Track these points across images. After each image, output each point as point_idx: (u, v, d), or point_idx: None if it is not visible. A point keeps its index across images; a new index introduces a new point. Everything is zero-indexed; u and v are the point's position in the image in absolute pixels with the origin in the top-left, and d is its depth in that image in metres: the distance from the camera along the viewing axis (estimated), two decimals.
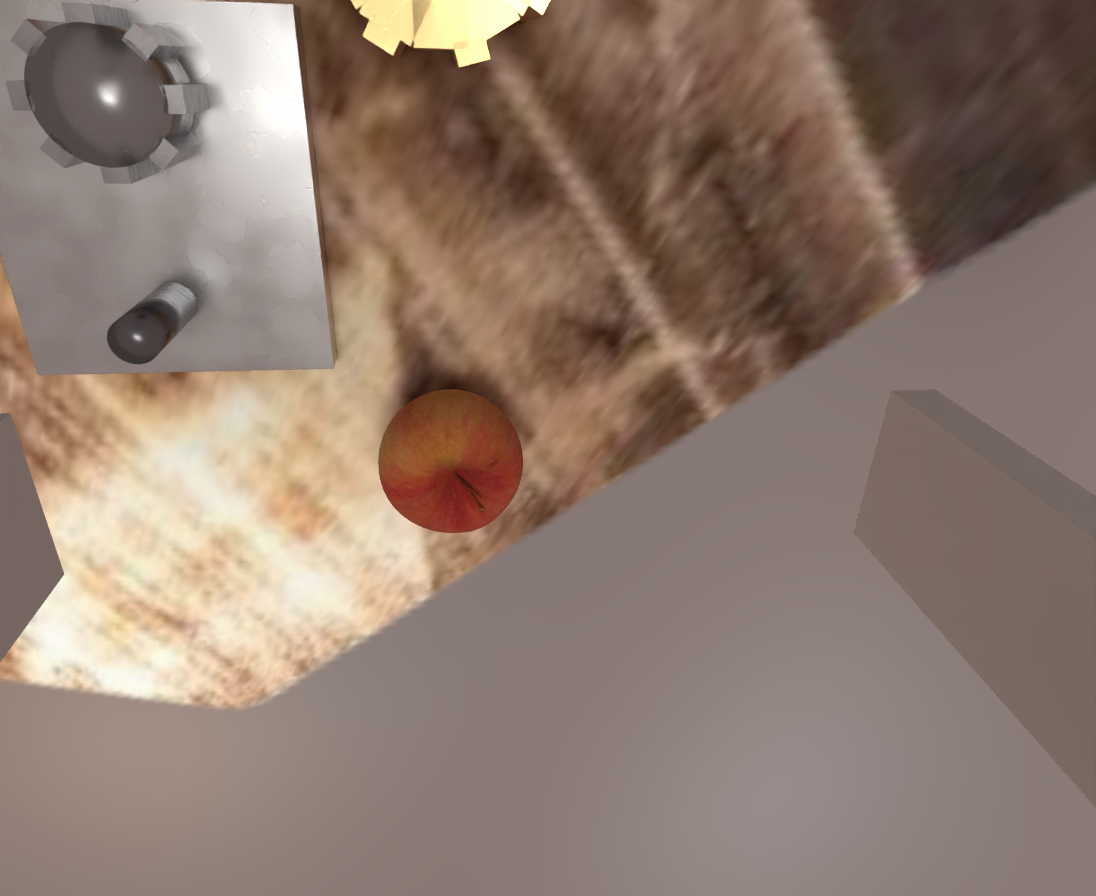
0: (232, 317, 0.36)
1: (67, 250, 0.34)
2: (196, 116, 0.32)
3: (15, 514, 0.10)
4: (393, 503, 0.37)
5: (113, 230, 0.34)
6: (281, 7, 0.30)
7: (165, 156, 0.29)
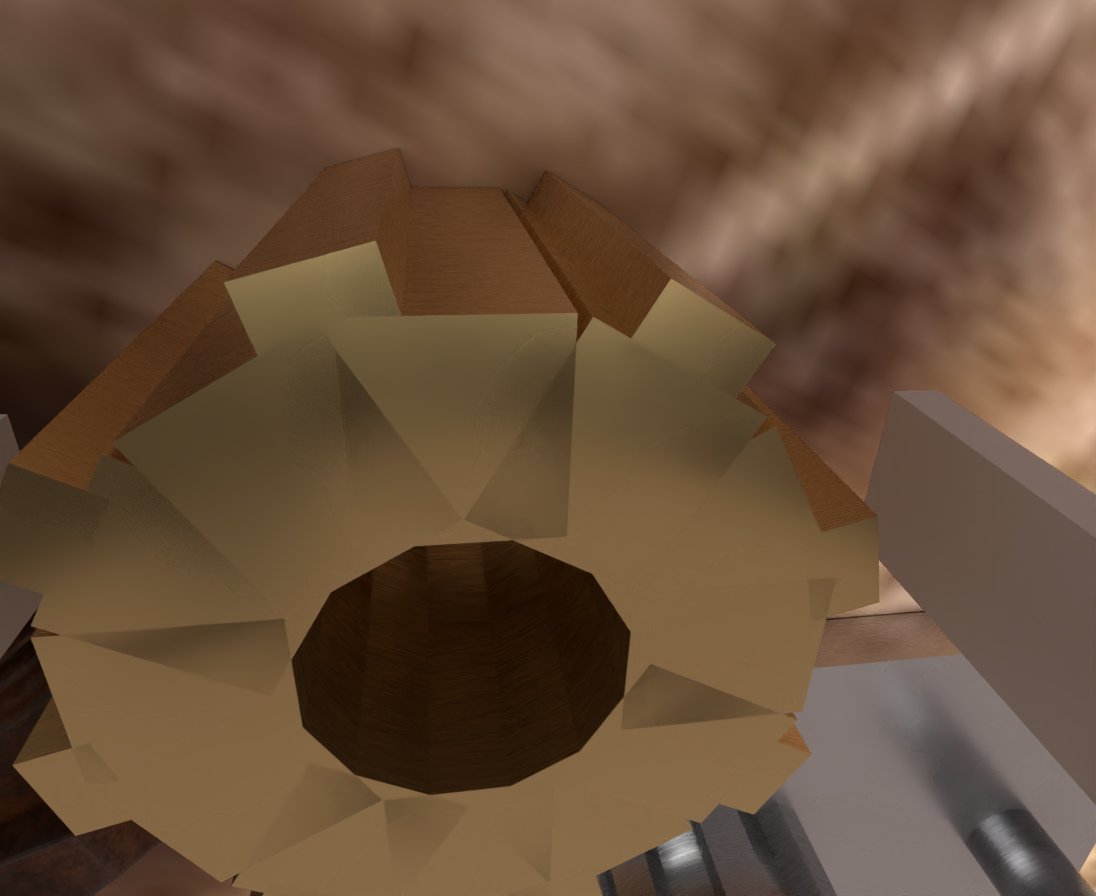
0: (1054, 768, 0.20)
1: None
2: None
3: None
4: None
5: (873, 891, 0.21)
6: None
7: None
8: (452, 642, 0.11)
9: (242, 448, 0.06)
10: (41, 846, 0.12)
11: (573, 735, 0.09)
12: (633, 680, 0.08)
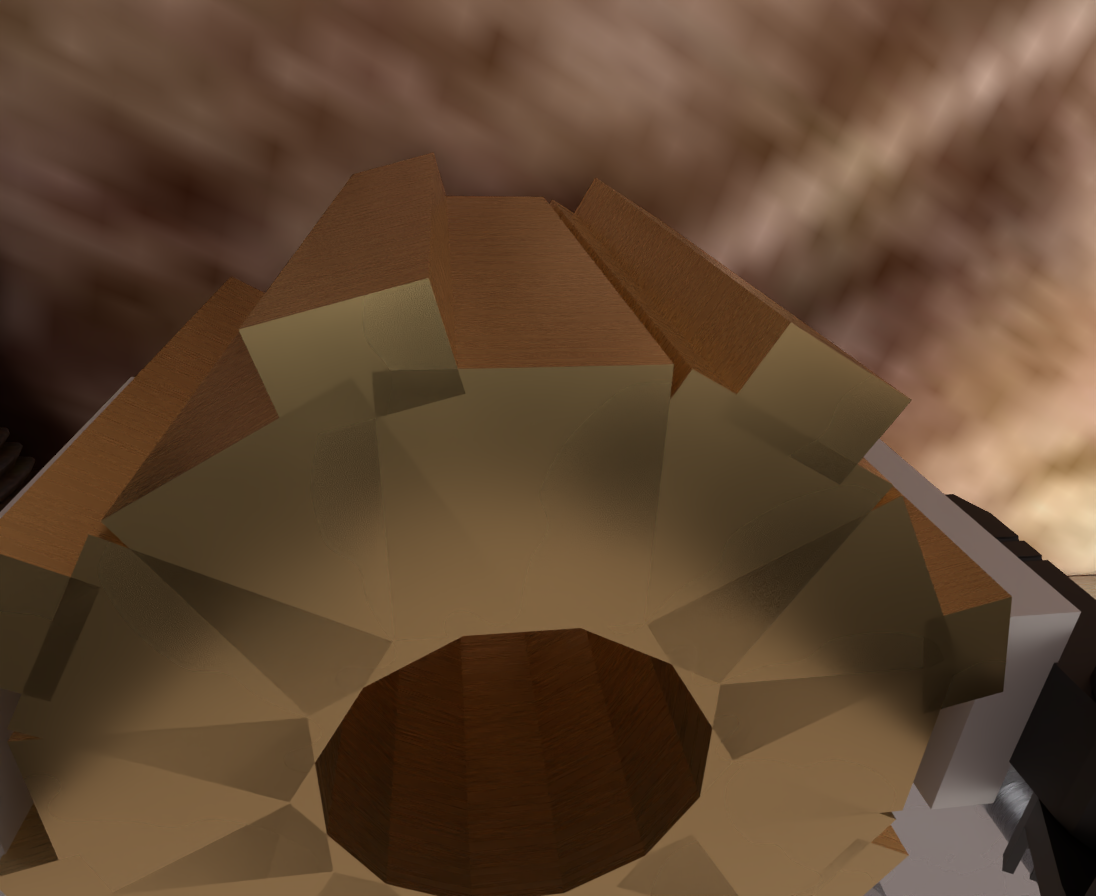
0: None
1: (905, 893, 0.23)
2: None
3: None
4: None
5: None
6: None
7: None
8: (490, 707, 0.10)
9: (259, 526, 0.05)
10: None
11: (636, 834, 0.08)
12: (710, 779, 0.07)
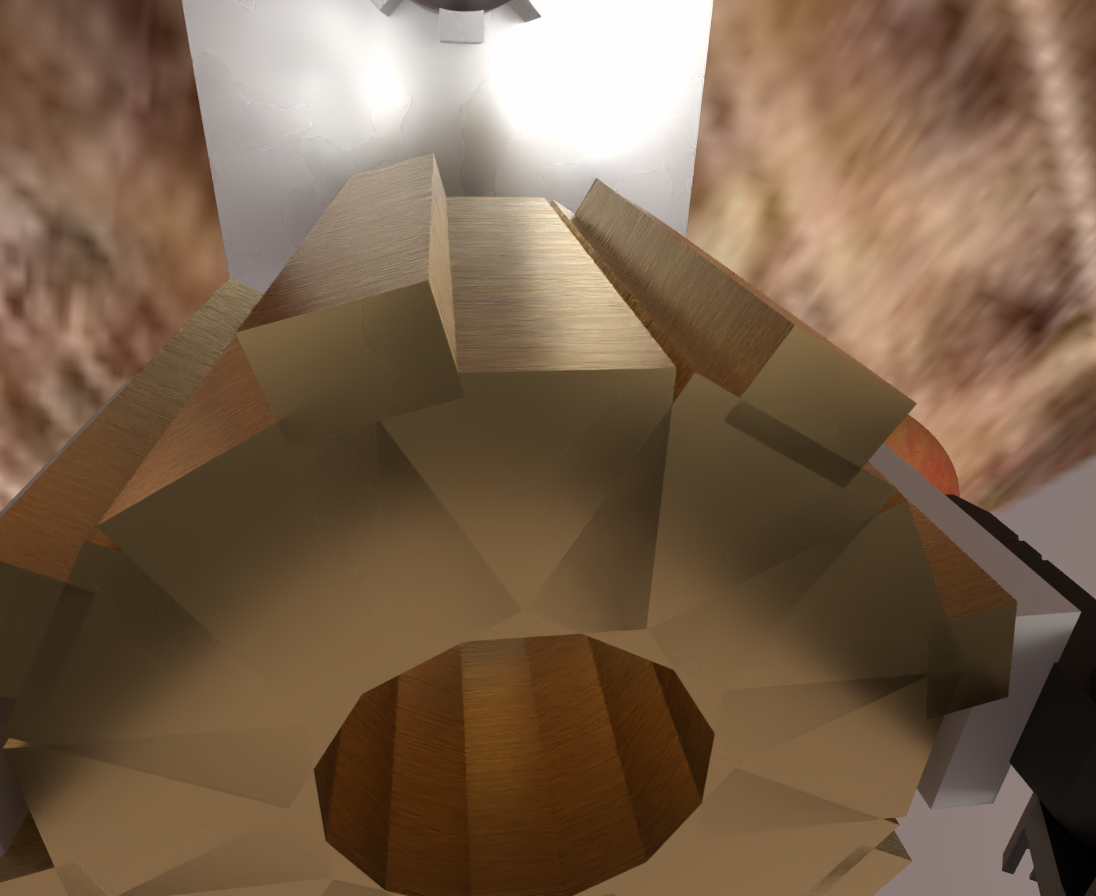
0: None
1: (316, 174, 0.21)
2: None
3: None
4: None
5: (390, 141, 0.21)
6: None
7: None
8: (490, 711, 0.10)
9: (257, 531, 0.05)
10: None
11: (637, 840, 0.08)
12: (712, 785, 0.07)
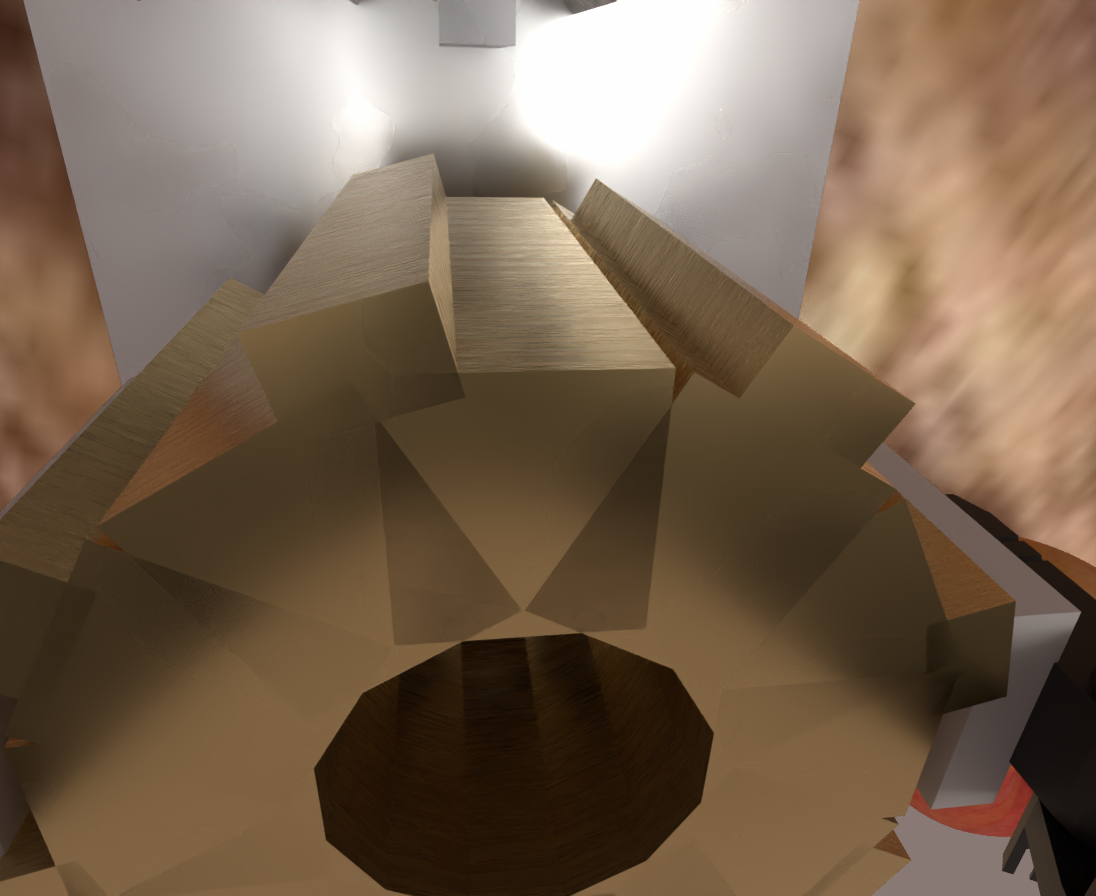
0: None
1: (250, 246, 0.14)
2: None
3: None
4: (914, 792, 0.17)
5: None
6: None
7: None
8: (490, 710, 0.10)
9: (258, 531, 0.05)
10: None
11: (637, 839, 0.08)
12: (711, 783, 0.07)
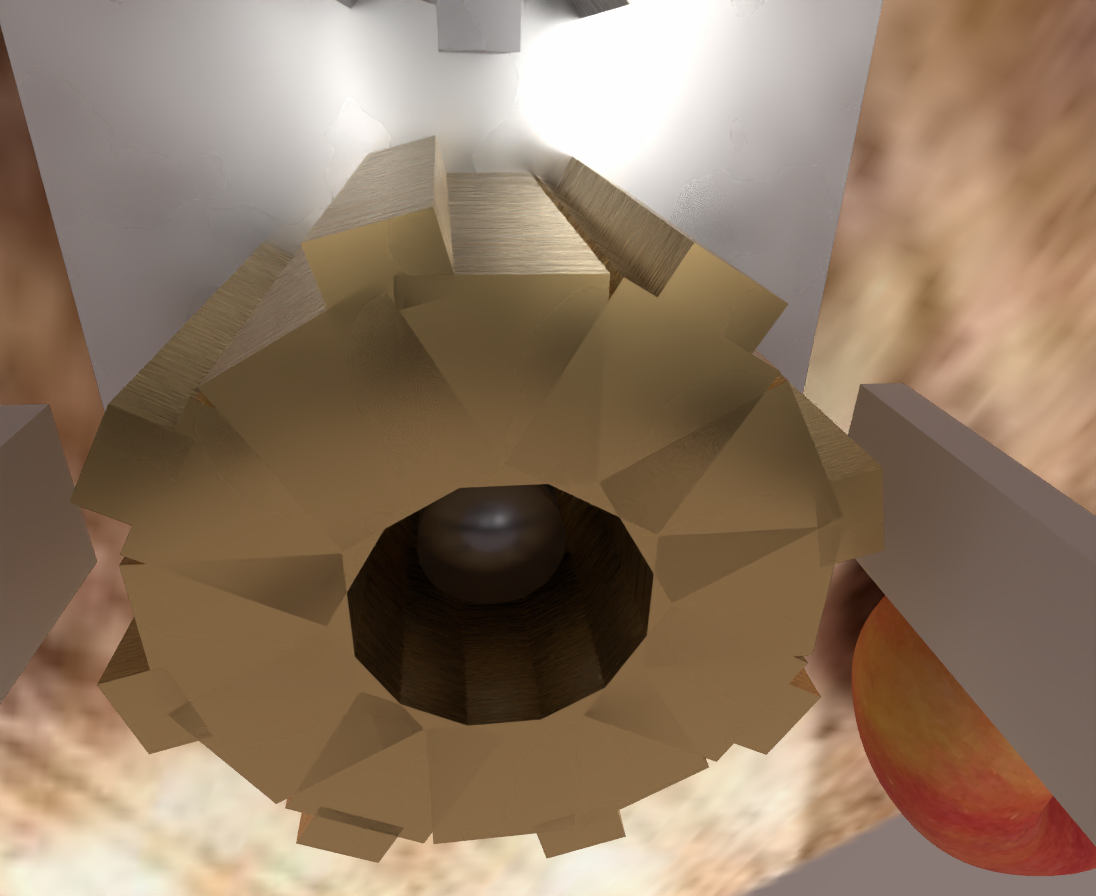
0: None
1: (237, 263, 0.13)
2: None
3: (53, 502, 0.10)
4: (936, 830, 0.16)
5: None
6: None
7: None
8: None
9: (310, 394, 0.07)
10: None
11: (599, 674, 0.10)
12: (654, 620, 0.09)
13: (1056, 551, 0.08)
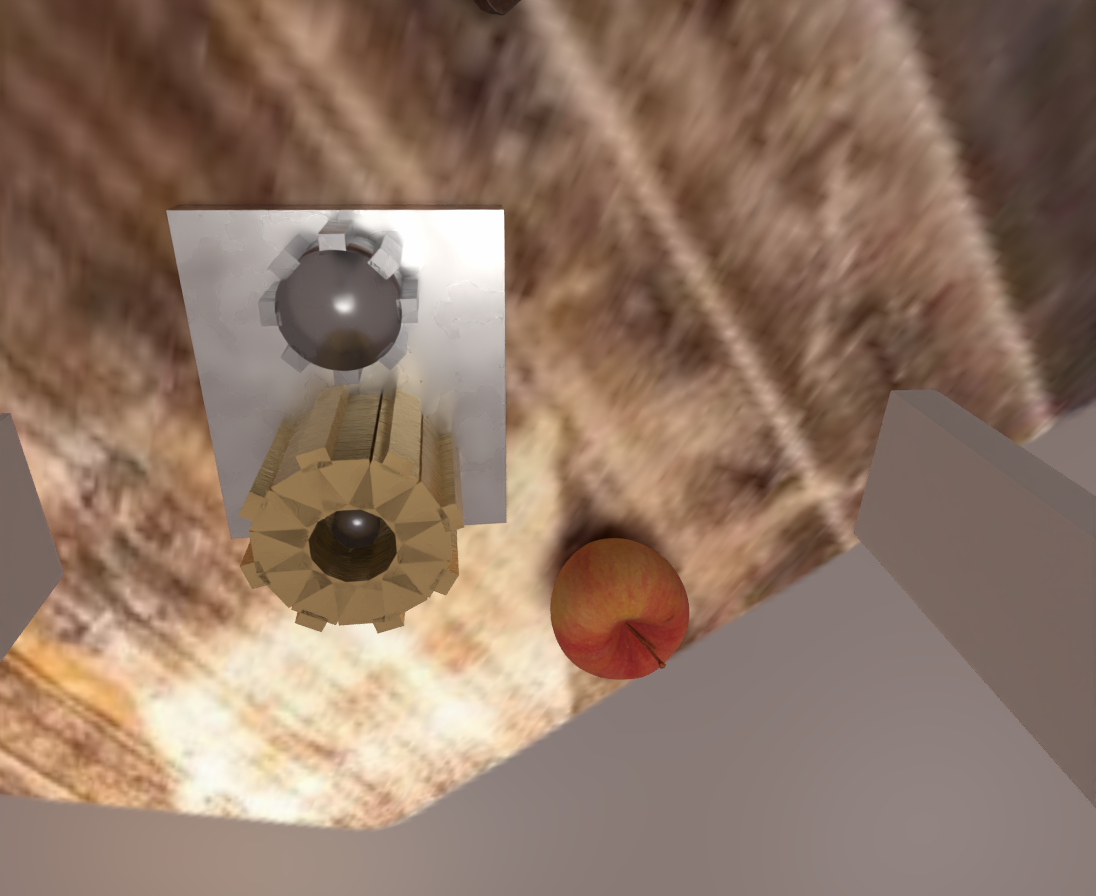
0: None
1: (272, 428, 0.35)
2: None
3: (15, 514, 0.10)
4: (569, 655, 0.38)
5: None
6: (493, 212, 0.33)
7: (393, 359, 0.31)
8: (359, 548, 0.34)
9: (297, 488, 0.29)
10: None
11: (386, 566, 0.32)
12: (399, 548, 0.31)
13: None
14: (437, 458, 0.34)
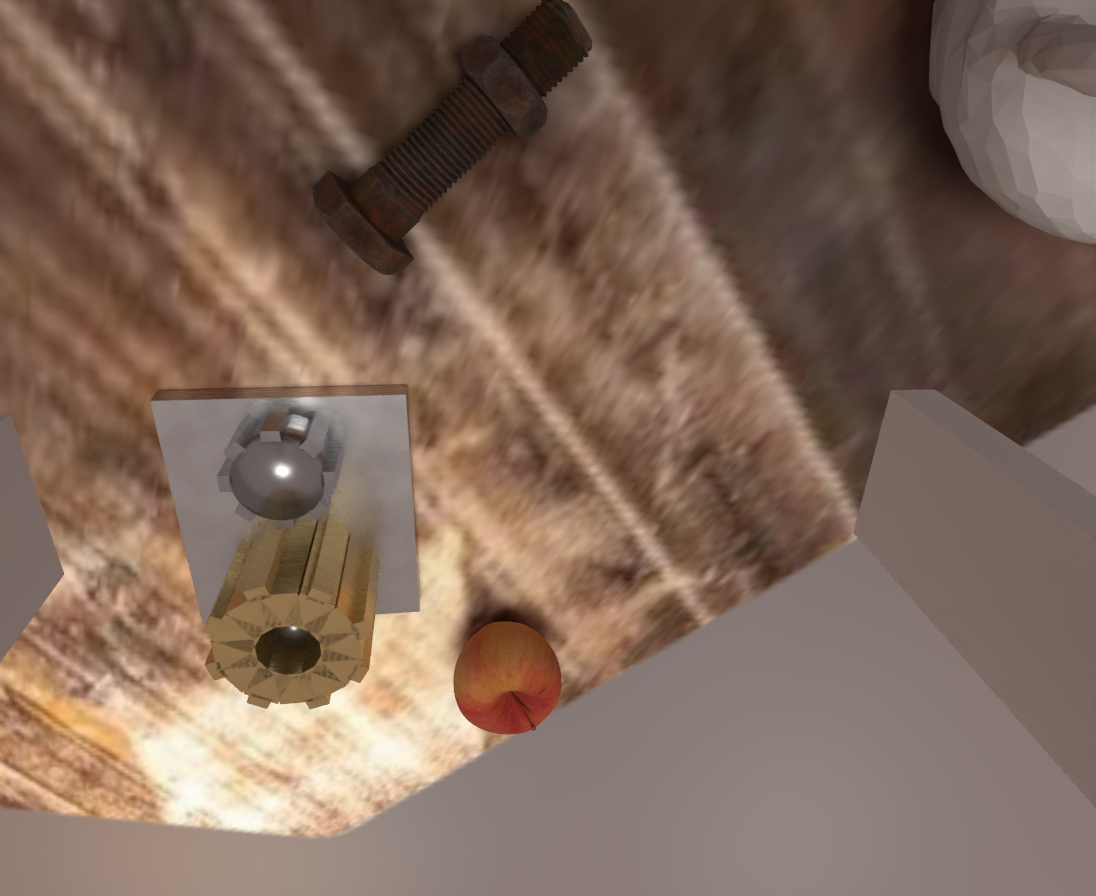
0: None
1: (233, 547, 0.46)
2: None
3: (15, 514, 0.10)
4: (465, 716, 0.49)
5: None
6: (397, 396, 0.43)
7: (319, 512, 0.42)
8: None
9: (245, 613, 0.40)
10: (383, 239, 0.36)
11: (314, 663, 0.43)
12: (323, 651, 0.42)
13: None
14: (357, 575, 0.45)
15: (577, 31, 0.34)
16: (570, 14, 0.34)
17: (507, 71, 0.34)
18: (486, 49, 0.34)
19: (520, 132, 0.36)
